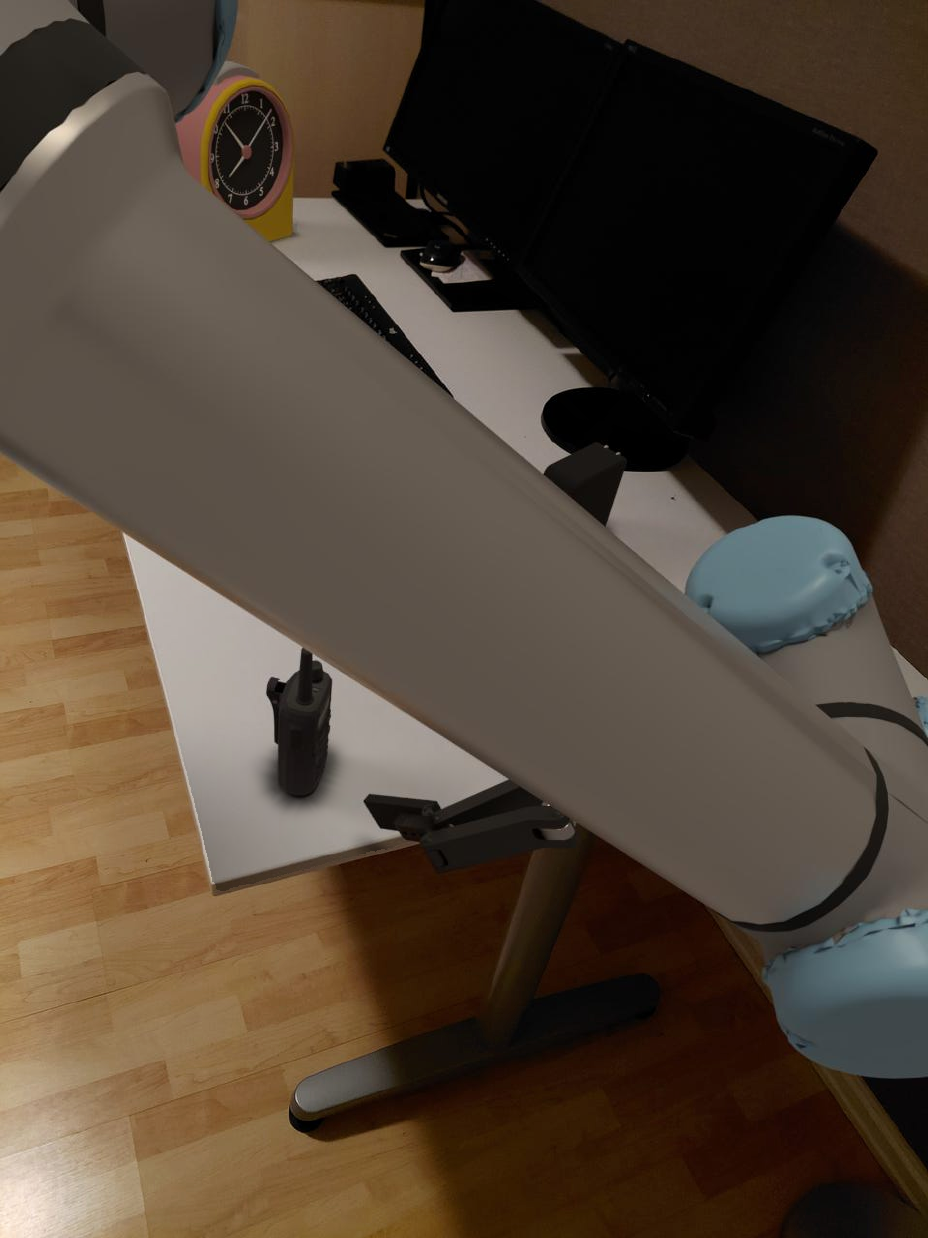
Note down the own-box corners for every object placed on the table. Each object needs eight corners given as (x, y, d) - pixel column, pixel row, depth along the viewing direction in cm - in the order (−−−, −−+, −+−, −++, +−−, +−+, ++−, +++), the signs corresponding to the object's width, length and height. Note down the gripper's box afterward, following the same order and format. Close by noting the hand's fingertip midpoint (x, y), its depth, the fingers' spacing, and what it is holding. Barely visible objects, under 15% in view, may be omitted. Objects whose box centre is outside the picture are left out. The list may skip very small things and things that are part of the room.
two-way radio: (311, 805, 65) (319, 669, 55) (255, 791, 65) (253, 653, 55) (332, 750, 69) (343, 615, 59) (279, 738, 69) (282, 601, 59)
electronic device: (525, 542, 95) (544, 466, 88) (577, 512, 101) (599, 439, 94) (553, 561, 93) (575, 485, 86) (605, 530, 99) (629, 456, 92)
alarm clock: (208, 258, 140) (200, 73, 123) (169, 240, 143) (156, 58, 126) (294, 234, 154) (297, 66, 137) (257, 219, 157) (255, 52, 140)
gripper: (623, 974, 45) (352, 909, 58) (755, 682, 61) (518, 684, 74) (573, 876, 42) (299, 832, 55) (725, 595, 58) (484, 615, 71)
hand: (424, 747), depth 65 cm, fingers open, 13 cm apart
